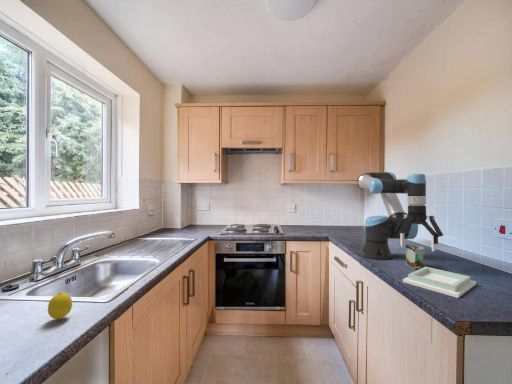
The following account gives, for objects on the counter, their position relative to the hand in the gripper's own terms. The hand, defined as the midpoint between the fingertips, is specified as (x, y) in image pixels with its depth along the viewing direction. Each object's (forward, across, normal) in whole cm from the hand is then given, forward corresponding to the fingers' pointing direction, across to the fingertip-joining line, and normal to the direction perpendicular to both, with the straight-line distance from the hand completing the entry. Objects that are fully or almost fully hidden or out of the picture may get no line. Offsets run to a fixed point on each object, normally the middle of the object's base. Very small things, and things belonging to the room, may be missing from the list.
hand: (417, 248), depth 116 cm
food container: (+10, 0, 0) cm, 10 cm away
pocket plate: (+10, +14, -16) cm, 23 cm away
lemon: (+10, -39, -140) cm, 146 cm away
